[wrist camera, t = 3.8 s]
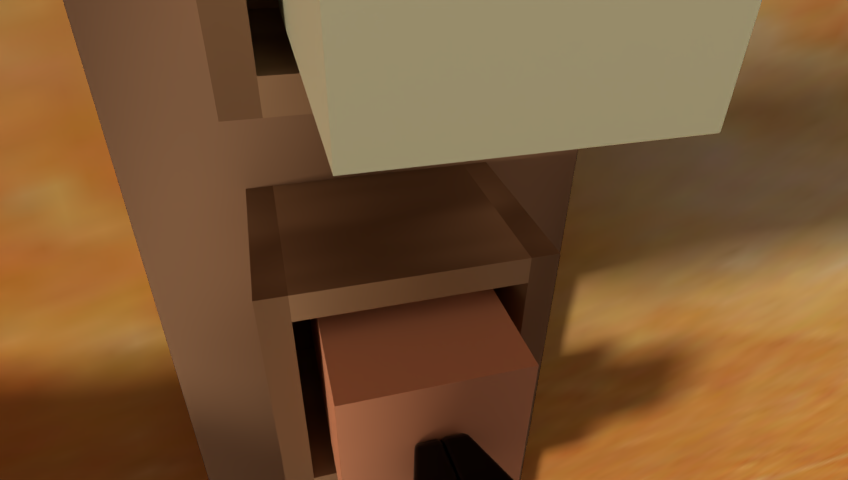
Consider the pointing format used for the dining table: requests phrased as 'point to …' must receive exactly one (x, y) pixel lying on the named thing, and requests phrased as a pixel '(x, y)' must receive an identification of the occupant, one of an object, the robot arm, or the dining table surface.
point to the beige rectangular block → (511, 75)
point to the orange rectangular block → (423, 382)
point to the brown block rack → (288, 221)
